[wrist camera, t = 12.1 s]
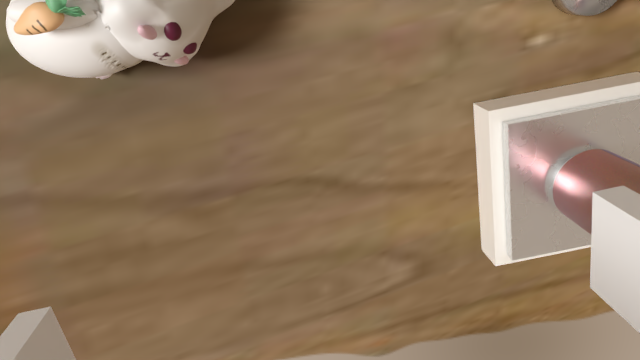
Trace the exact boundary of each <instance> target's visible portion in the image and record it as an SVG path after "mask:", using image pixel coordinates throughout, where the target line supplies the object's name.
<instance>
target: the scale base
mask: <svg viewBox="0 0 640 360" xmlns="http://www.w3.org/2000/svg"><path fill="white" fill-rule="evenodd" d="M636 95H640V72H633V73H627V74H622V75H617V76H612V77H607V78H602V79H596V80H591V81H586V82H581V83H576V84H571V85H565V86H560V87H555V88H550V89H545V90H539V91H534V92H529V93H524V94H519V95H514V96H508V97H503V98H498V99H493V100H488V101H483V102H477V103H473V107H474V124H475V142H476V159H477V176H478V194H479V211H480V229H481V246H482V251H483V252H484V253H485V254H486V255H487V257H488V258H489V259H490V260H491V261H492V263H493V264H494V265H495V266H499V265H504V264H509V263H514V262H519V261H524V260H528V259H533V258H538V257H543V256H548V255H553V254H558V253H563V252H568V251H573V250H578V249H583V248H588V247H591V245H587V246H582V247H577V248H572V249H567V250H562V251H557V252H552V253H547V254H542V255H537V256H532V257H528V258H523V259H518V260H513V261H512V260H511V259H510V258H509V257H508V255H507V243H506V216H505V188H504V160H503V132H502V122H503V121H508V120H513V119H518V118H523V117H528V116H533V115H539V114H544V113H549V112H554V111H559V110H564V109H569V108H575V107H580V106H585V105H590V104H595V103H600V102H605V101H611V100H616V99H621V98H626V97H631V96H636Z"/></svg>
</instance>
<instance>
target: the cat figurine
mask: <svg viewBox="0 0 640 360" xmlns="http://www.w3.org/2000/svg"><path fill="white" fill-rule="evenodd" d="M234 1H235V0H11V1H10V4H9V6H8V8H7V17H6V27H7V33H8V36H9V39H10V41H11V43H12V45H13V46H14V48H15V49H16V50H17V51H18V53H19V54H20V55H21V56H22V57H24V58H25V59H26V60H27V61H29V62H30V63H32V64H33V65H35V66H37V67H39V68H41V69H43V70H46V71H48V72H51V73H54V74H58V75H62V76H68V77H77V78H91V77H96V78H101V79H105V78H108V77H110V76H111V75H112V74H113V73H116V72H119V71H121V70H124V69H126V68H129V67H132V66H134V65H136V64H138V63H140V62H142V61H143V60H146V61H152V62H156V63H159V64H162V65H165V66H173V67H176V66H182V65H185V64H187V63H188V62H189V60H190V59H191V58H192V57H193V56H194V55H195V54H196V53H197V52H198V50H199V48H200V45H201V43H202V41H203V39H204V37H205V35H206V33H207V31H208V29H209V27H210V24H211V22H212V20H213V19H214V18H215V17H216V16H217V15H218V14H219V13H221V12H222V11H224V10H225V9H226V8H228V7H229V6H230V5H232V4H233V3H234Z"/></svg>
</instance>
